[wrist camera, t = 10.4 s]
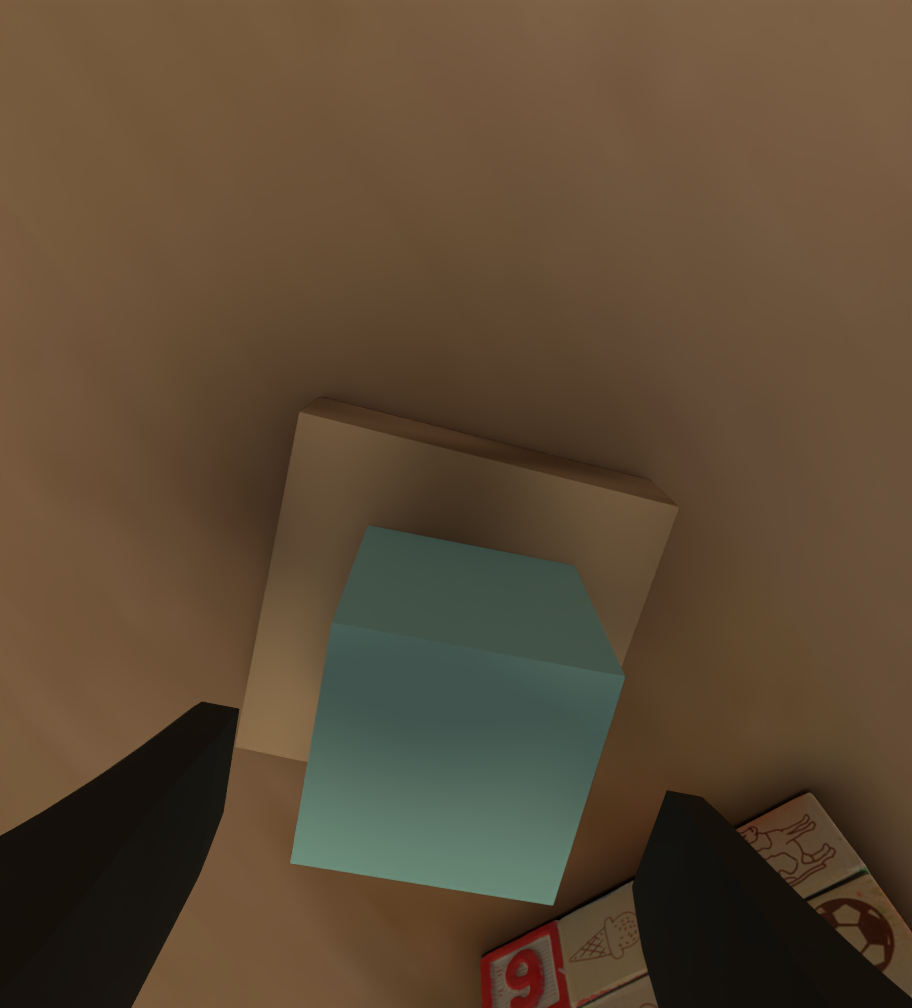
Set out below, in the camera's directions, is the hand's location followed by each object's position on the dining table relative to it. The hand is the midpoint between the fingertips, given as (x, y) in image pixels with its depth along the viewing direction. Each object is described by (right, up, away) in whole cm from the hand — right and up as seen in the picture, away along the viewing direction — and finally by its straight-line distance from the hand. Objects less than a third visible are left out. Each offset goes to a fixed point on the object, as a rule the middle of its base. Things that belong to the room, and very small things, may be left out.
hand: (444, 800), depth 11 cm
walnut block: (0, +3, +8) cm, 9 cm away
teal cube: (0, +2, +6) cm, 6 cm away
